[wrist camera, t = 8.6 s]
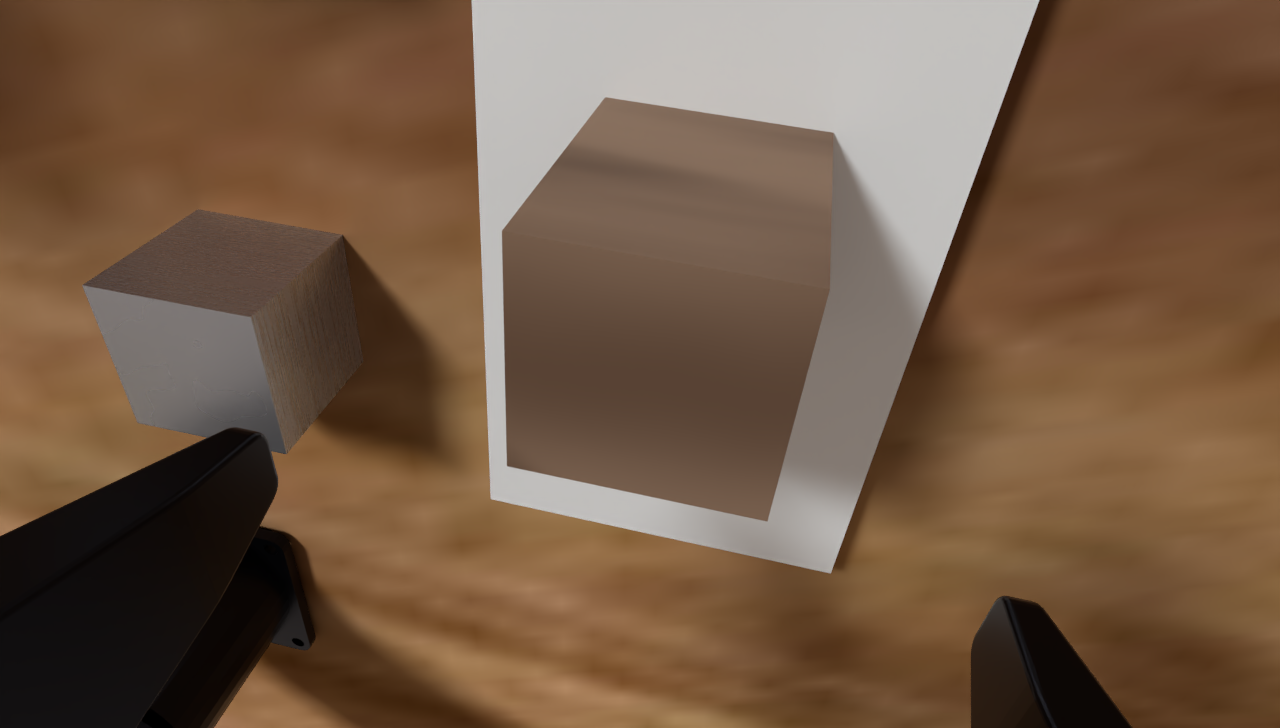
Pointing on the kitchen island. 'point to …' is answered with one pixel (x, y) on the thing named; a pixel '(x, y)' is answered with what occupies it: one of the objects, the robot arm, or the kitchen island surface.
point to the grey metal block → (230, 326)
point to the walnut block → (667, 304)
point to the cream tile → (861, 199)
